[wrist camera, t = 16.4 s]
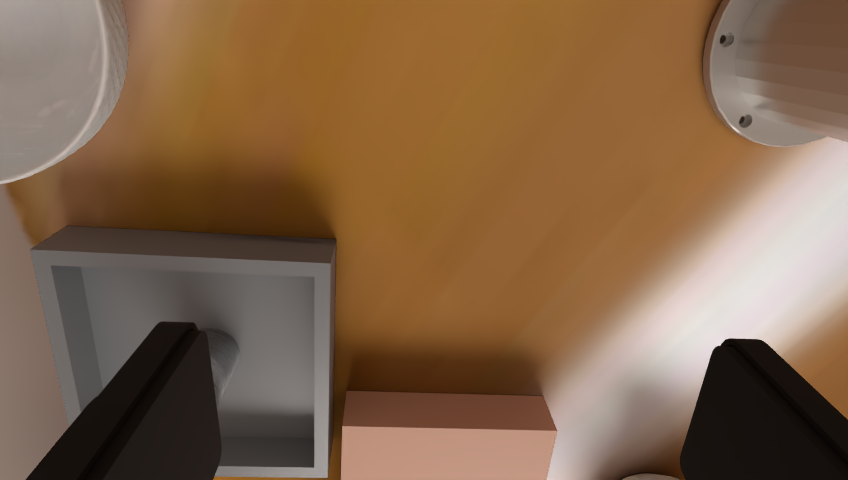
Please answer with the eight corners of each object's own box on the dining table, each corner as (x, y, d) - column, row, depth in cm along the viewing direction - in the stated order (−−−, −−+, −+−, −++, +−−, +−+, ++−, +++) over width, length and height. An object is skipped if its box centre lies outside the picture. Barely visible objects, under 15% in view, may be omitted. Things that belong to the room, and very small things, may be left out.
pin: (238, 329, 39) (183, 439, 29) (240, 375, 40) (190, 495, 30) (181, 326, 38) (105, 437, 28) (185, 373, 40) (115, 493, 30)
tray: (336, 239, 38) (330, 263, 34) (332, 439, 44) (327, 477, 41) (66, 225, 36) (29, 249, 32) (106, 435, 43) (79, 474, 39)
